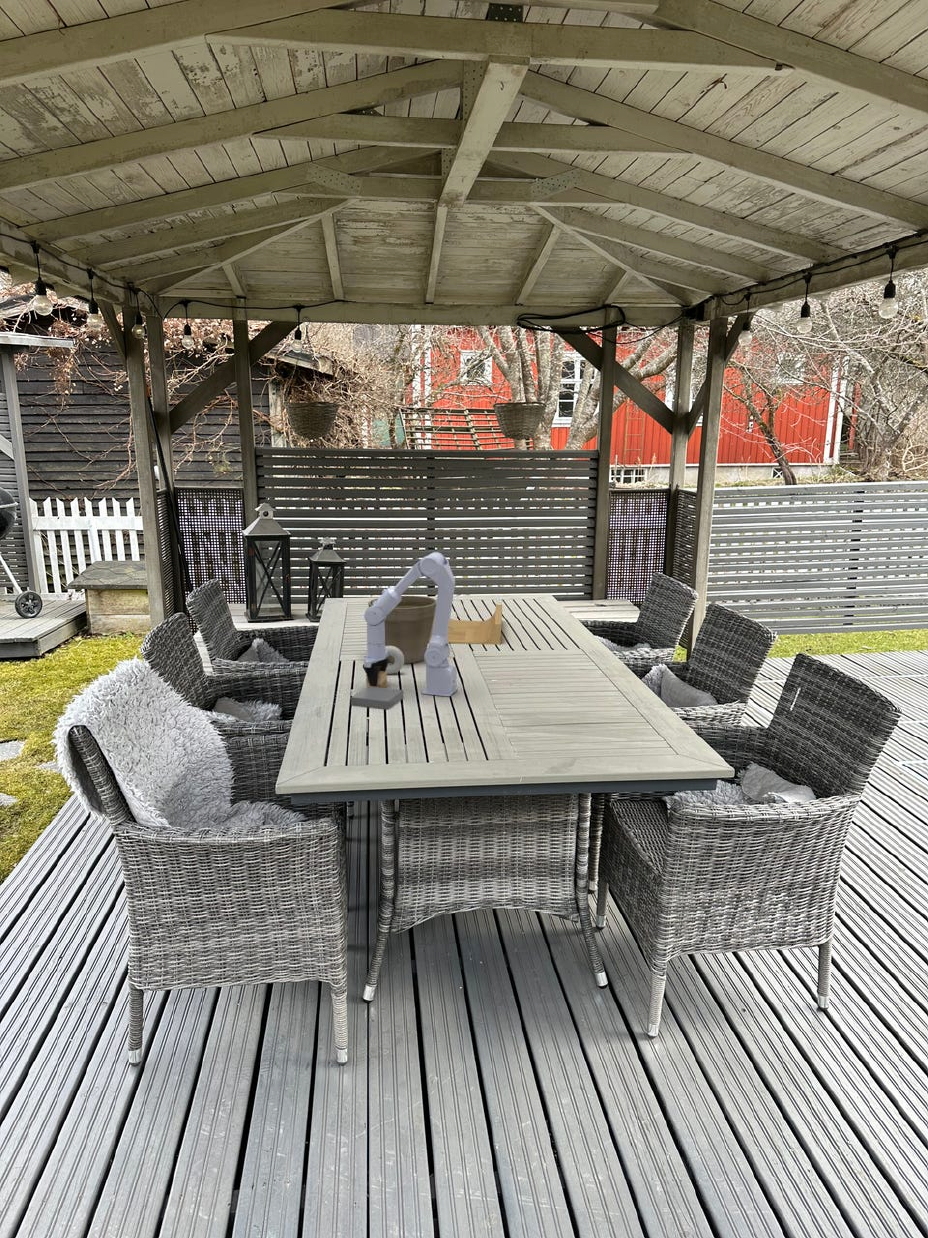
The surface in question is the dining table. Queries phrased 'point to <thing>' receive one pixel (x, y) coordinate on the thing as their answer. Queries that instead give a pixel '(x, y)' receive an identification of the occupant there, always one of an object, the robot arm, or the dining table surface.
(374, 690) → the slate block
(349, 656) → the dining table surface
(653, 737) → the dining table surface
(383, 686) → the oak cube
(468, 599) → the dining table surface
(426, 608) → the plant pot
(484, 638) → the skate ramp
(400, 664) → the donut
